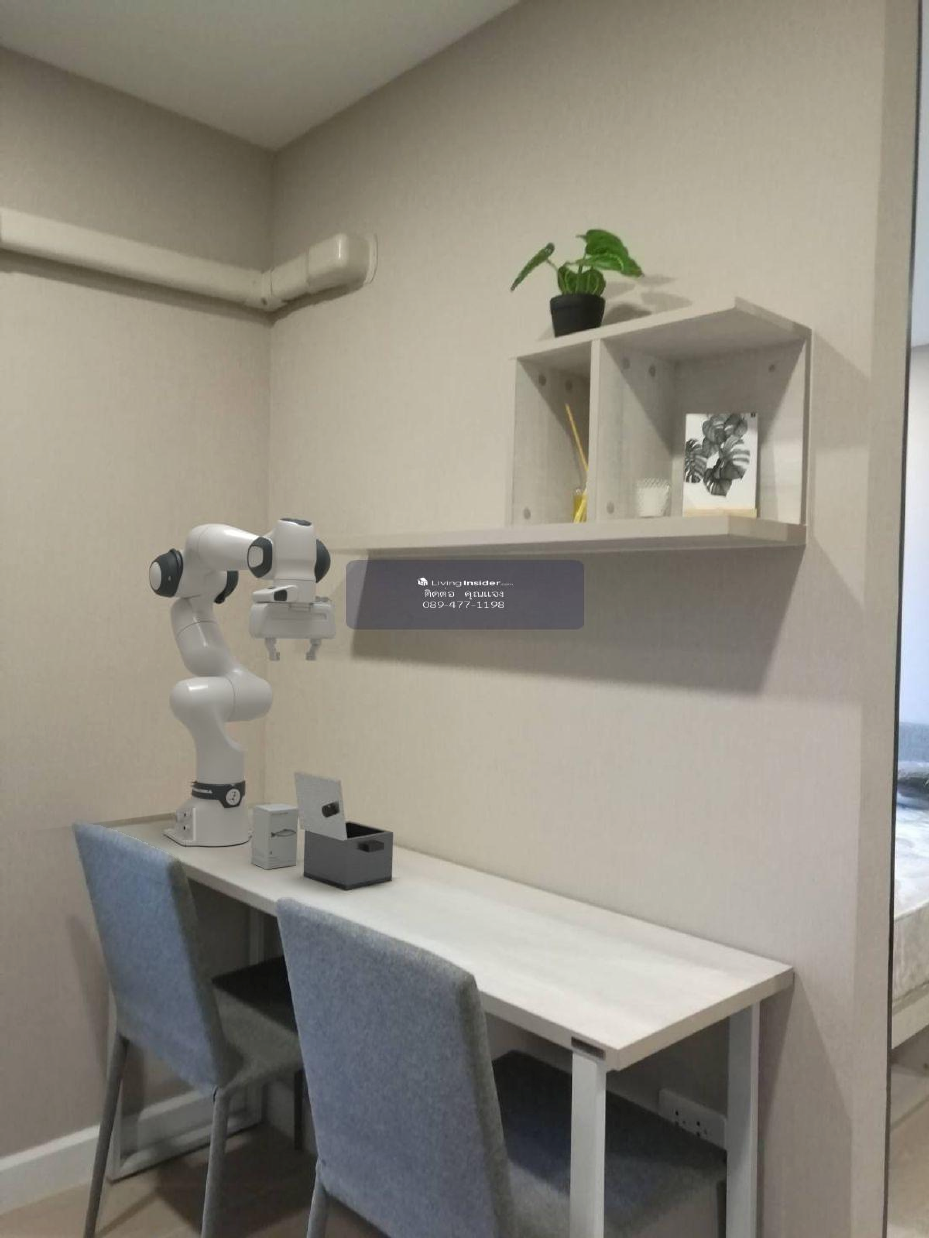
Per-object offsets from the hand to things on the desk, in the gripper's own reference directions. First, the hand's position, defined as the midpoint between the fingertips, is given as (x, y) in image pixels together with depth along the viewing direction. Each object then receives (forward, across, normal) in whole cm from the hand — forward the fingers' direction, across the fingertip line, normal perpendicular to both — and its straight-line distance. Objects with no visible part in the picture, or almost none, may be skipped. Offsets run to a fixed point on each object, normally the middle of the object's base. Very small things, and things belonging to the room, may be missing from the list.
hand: (293, 660), depth 207 cm
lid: (+29, 0, +11) cm, 31 cm away
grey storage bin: (+45, -7, +11) cm, 47 cm away
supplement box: (+45, -2, -8) cm, 45 cm away
